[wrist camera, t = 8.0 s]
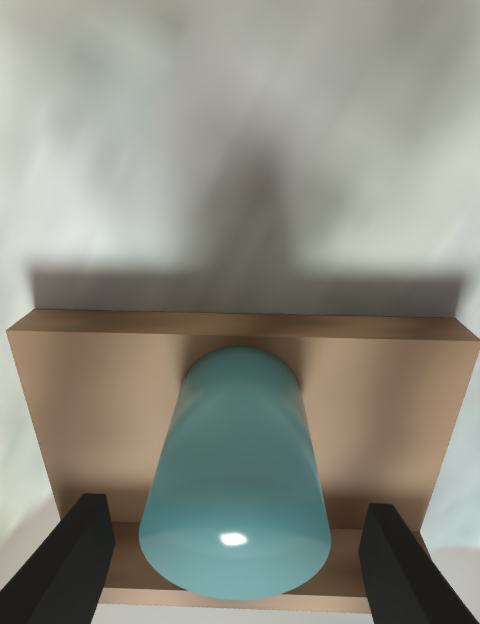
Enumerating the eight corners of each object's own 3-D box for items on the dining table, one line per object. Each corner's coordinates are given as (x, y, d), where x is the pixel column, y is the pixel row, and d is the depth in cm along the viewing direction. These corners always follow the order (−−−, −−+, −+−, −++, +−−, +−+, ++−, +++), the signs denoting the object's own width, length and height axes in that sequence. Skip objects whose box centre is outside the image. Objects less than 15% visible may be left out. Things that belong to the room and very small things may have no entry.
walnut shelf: (455, 318, 15) (541, 390, 11) (399, 511, 20) (442, 616, 16) (34, 309, 16) (-54, 375, 11) (81, 501, 21) (34, 600, 16)
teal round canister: (305, 346, 14) (341, 477, 8) (298, 445, 16) (322, 602, 10) (175, 345, 14) (126, 474, 9) (184, 444, 16) (150, 597, 11)
